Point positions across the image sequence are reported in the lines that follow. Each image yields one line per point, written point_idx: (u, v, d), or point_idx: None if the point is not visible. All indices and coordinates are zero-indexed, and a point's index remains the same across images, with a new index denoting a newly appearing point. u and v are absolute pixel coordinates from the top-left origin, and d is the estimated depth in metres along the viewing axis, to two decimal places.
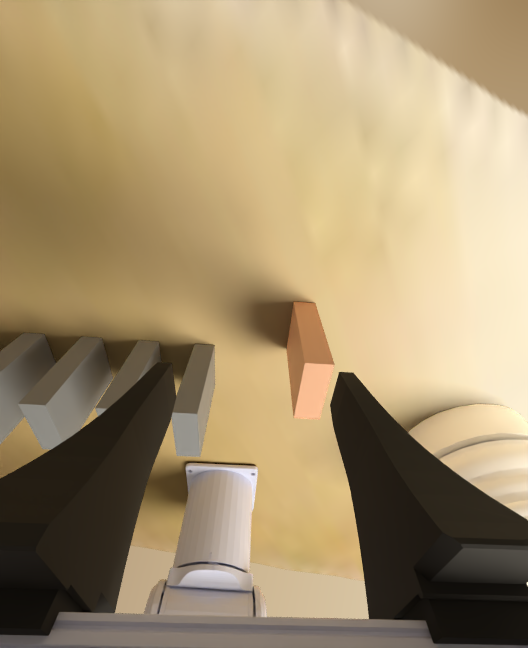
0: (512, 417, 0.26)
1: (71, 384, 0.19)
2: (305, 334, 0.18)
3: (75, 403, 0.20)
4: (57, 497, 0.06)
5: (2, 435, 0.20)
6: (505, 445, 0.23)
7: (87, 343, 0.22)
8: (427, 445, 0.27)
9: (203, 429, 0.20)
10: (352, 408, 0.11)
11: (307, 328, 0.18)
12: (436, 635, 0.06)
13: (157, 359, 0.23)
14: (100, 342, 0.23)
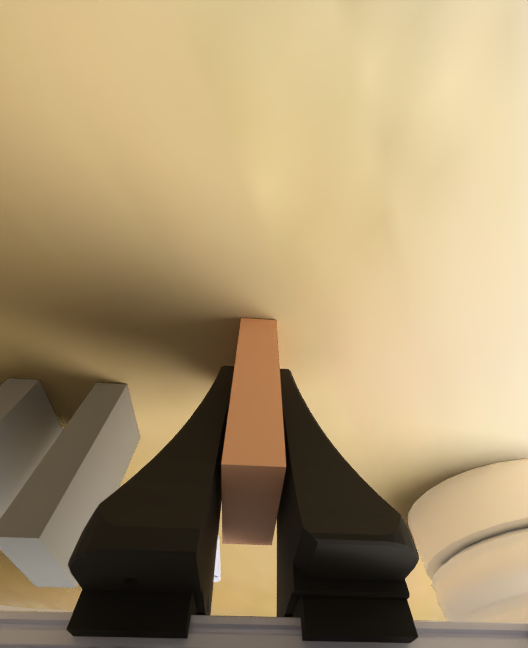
0: None
1: None
2: (243, 385, 0.09)
3: None
4: (191, 502, 0.06)
5: None
6: None
7: None
8: (454, 521, 0.18)
9: None
10: None
11: (250, 371, 0.10)
12: (304, 632, 0.06)
13: (38, 407, 0.15)
14: None
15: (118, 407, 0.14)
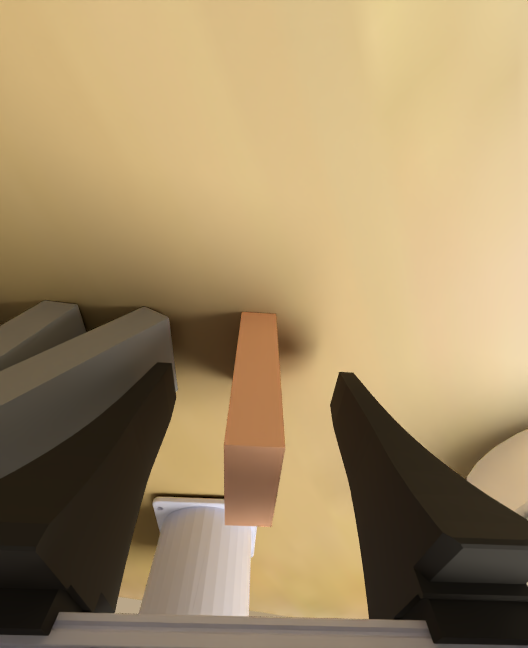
0: None
1: None
2: (244, 374, 0.10)
3: None
4: (57, 497, 0.06)
5: None
6: None
7: None
8: None
9: None
10: (352, 408, 0.11)
11: (251, 361, 0.10)
12: (436, 635, 0.06)
13: (73, 336, 0.13)
14: None
15: (146, 337, 0.12)
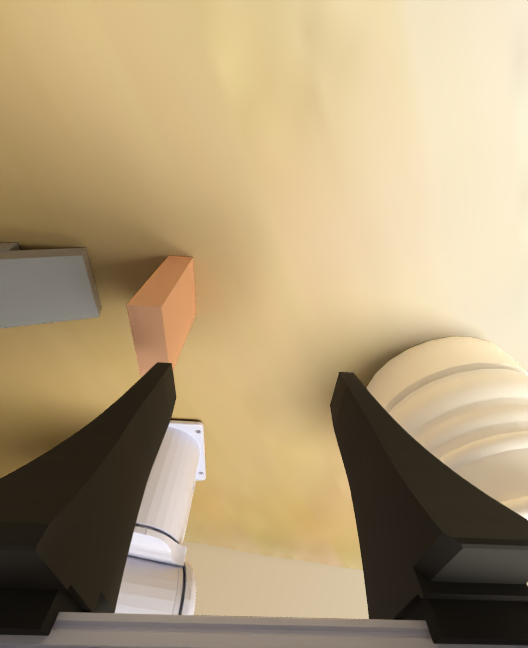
0: (493, 350, 0.22)
1: None
2: (153, 281, 0.16)
3: None
4: (57, 497, 0.06)
5: None
6: (482, 374, 0.19)
7: None
8: (392, 385, 0.22)
9: None
10: (352, 408, 0.11)
11: (161, 276, 0.16)
12: (436, 635, 0.06)
13: None
14: None
15: (61, 263, 0.17)
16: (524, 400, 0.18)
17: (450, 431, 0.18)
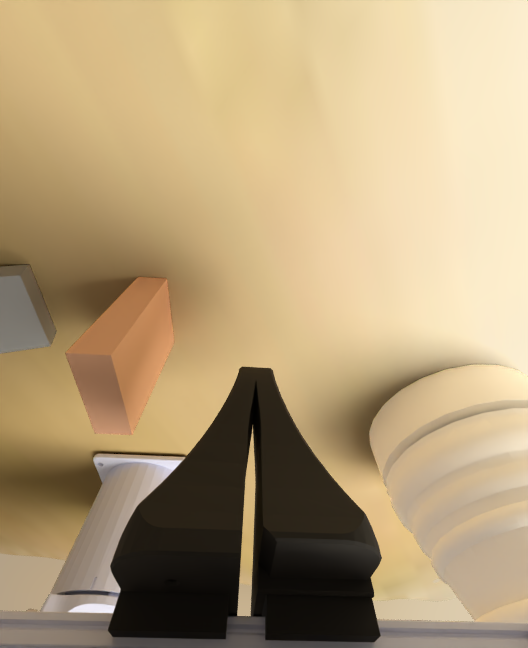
0: (521, 381, 0.18)
1: None
2: (110, 315, 0.13)
3: None
4: (228, 503, 0.06)
5: None
6: (514, 416, 0.16)
7: None
8: (404, 422, 0.19)
9: None
10: (257, 403, 0.10)
11: (122, 307, 0.13)
12: (267, 632, 0.06)
13: None
14: None
15: None
16: None
17: (479, 489, 0.15)
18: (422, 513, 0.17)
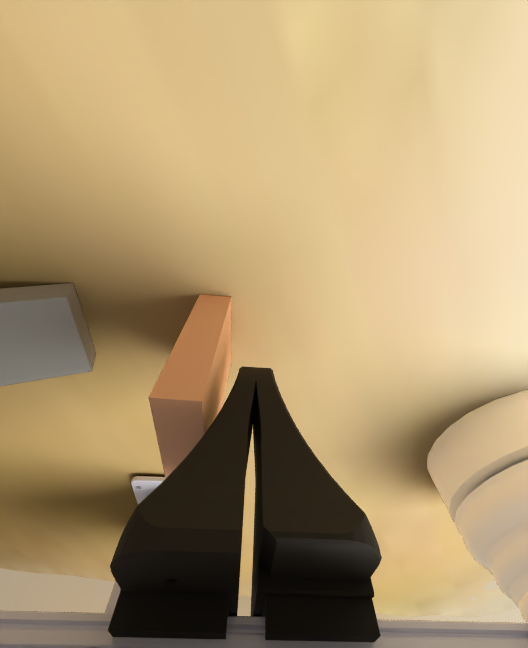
0: None
1: None
2: (184, 344, 0.11)
3: None
4: (228, 503, 0.06)
5: None
6: None
7: None
8: (479, 449, 0.18)
9: None
10: (257, 403, 0.10)
11: (194, 334, 0.12)
12: (267, 632, 0.06)
13: None
14: None
15: (37, 308, 0.13)
16: None
17: None
18: (512, 555, 0.15)
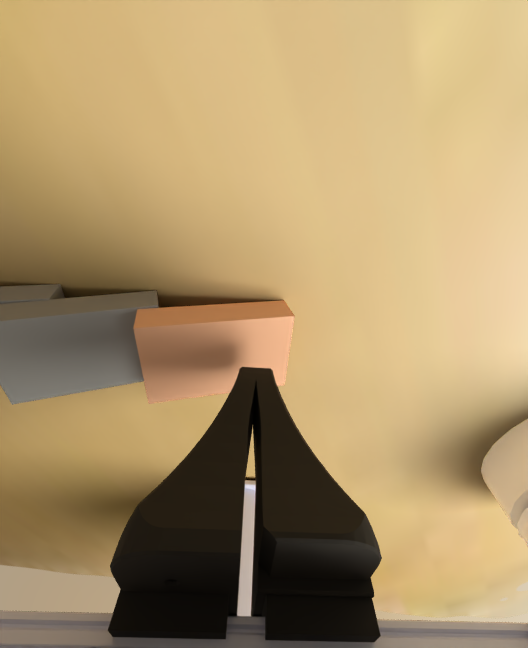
0: None
1: None
2: (199, 309, 0.13)
3: None
4: (228, 503, 0.06)
5: None
6: None
7: None
8: None
9: (40, 382, 0.13)
10: (257, 403, 0.10)
11: (215, 310, 0.13)
12: (267, 631, 0.06)
13: None
14: None
15: (130, 315, 0.13)
16: None
17: None
18: None
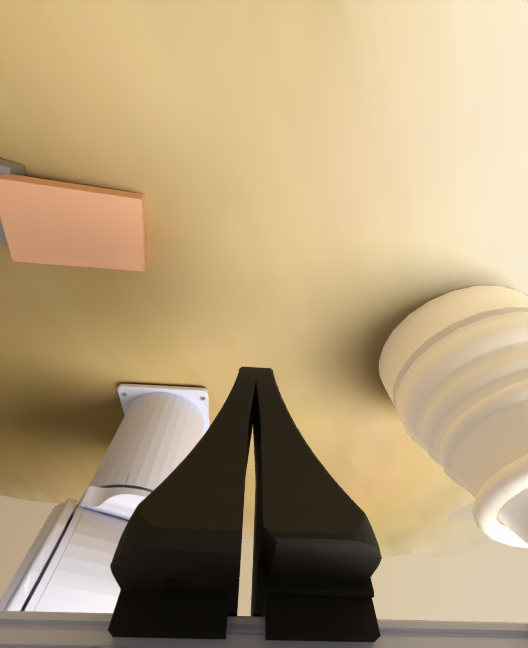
0: (524, 297, 0.20)
1: None
2: (61, 182, 0.16)
3: None
4: (228, 503, 0.06)
5: None
6: (517, 317, 0.17)
7: None
8: (414, 338, 0.21)
9: None
10: (257, 403, 0.10)
11: (74, 185, 0.16)
12: (267, 631, 0.06)
13: None
14: None
15: None
16: None
17: (484, 376, 0.16)
18: (432, 411, 0.18)
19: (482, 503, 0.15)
